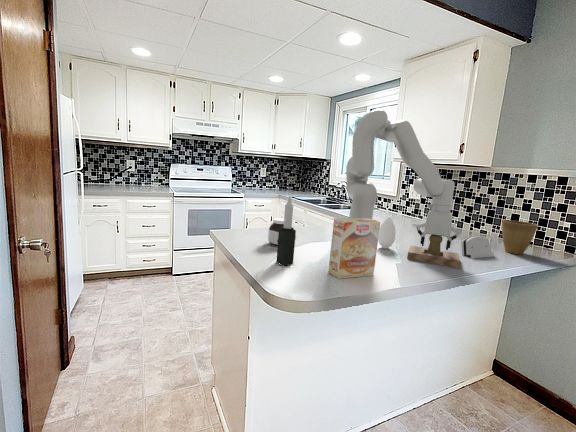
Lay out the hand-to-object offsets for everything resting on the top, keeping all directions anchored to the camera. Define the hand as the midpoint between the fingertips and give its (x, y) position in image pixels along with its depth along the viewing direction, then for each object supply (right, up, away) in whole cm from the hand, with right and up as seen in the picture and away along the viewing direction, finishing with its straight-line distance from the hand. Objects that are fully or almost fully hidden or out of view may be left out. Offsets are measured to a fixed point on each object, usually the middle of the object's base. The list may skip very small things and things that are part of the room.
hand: (434, 247), depth 137 cm
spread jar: (-67, +1, +7) cm, 67 cm away
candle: (-65, -4, -20) cm, 68 cm away
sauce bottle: (-17, -2, +14) cm, 22 cm away
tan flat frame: (0, -5, +1) cm, 5 cm away
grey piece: (+27, -5, +15) cm, 31 cm away
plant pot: (+53, -5, +26) cm, 59 cm away
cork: (-1, -5, +1) cm, 6 cm away
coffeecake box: (-42, -7, -26) cm, 50 cm away
